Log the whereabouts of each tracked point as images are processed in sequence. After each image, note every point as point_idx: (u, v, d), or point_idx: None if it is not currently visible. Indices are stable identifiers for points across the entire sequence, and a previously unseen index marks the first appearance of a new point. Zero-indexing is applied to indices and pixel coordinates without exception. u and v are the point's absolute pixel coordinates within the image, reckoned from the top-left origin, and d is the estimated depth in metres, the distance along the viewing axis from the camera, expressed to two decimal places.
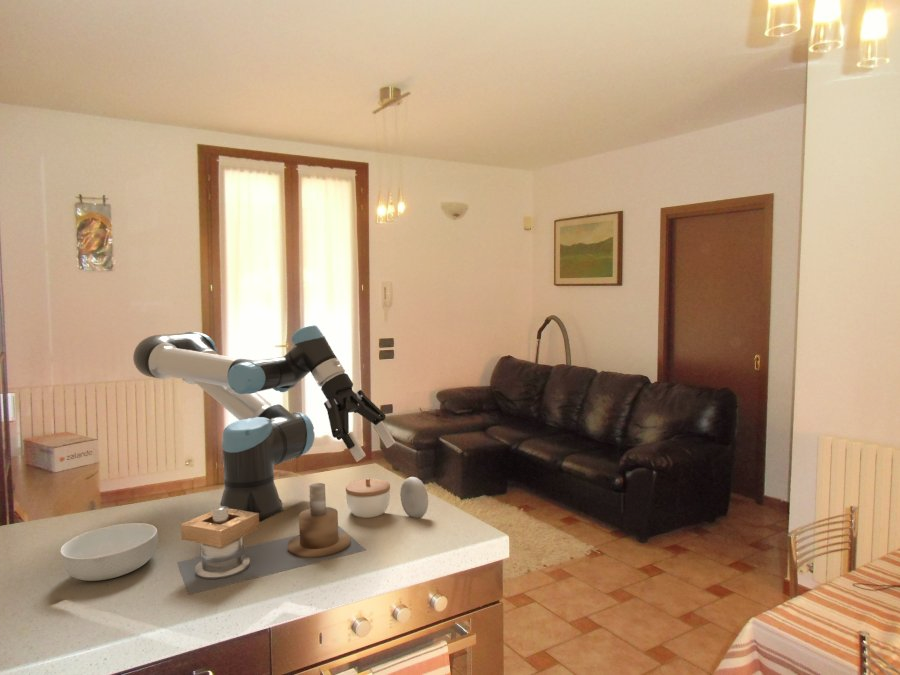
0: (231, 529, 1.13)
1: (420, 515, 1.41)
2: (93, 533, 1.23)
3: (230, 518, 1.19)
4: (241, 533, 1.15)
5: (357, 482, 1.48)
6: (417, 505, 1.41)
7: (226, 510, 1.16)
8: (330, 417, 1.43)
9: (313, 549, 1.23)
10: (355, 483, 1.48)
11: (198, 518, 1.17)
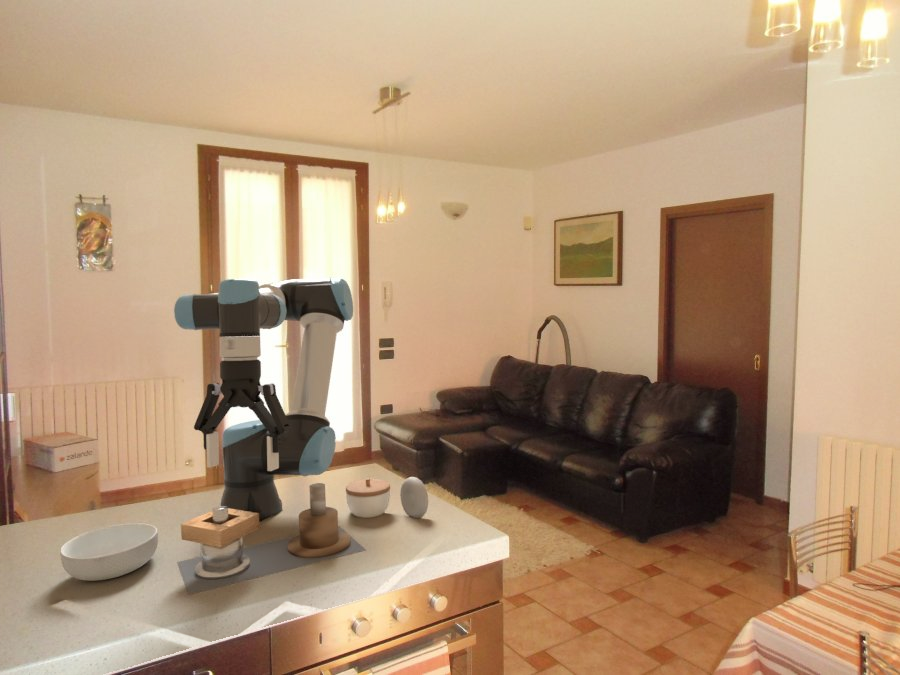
0: (231, 529, 1.13)
1: (420, 515, 1.41)
2: (93, 533, 1.23)
3: (230, 518, 1.19)
4: (241, 533, 1.15)
5: (357, 482, 1.48)
6: (417, 505, 1.41)
7: (226, 510, 1.16)
8: None
9: (313, 549, 1.23)
10: (355, 483, 1.48)
11: (198, 518, 1.17)
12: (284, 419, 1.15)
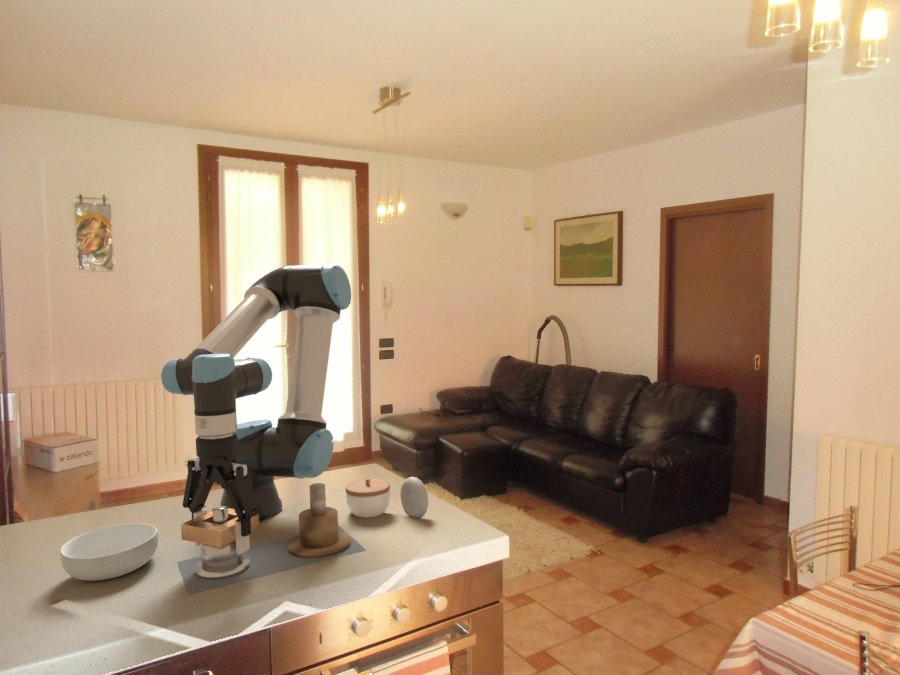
0: (231, 529, 1.13)
1: (420, 515, 1.41)
2: (93, 533, 1.23)
3: (230, 518, 1.19)
4: None
5: (357, 482, 1.48)
6: (417, 505, 1.41)
7: (226, 510, 1.16)
8: None
9: (313, 549, 1.23)
10: (355, 483, 1.48)
11: (198, 518, 1.17)
12: (253, 503, 1.13)
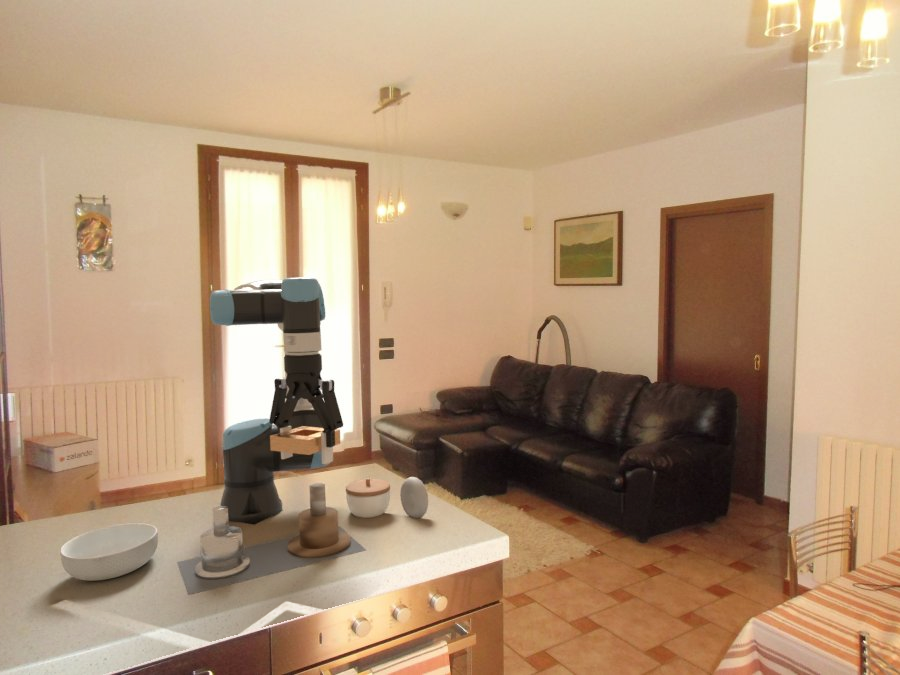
0: (318, 440, 1.20)
1: (420, 515, 1.41)
2: (93, 533, 1.23)
3: (313, 434, 1.27)
4: None
5: (357, 482, 1.48)
6: (417, 505, 1.41)
7: (226, 510, 1.16)
8: None
9: (313, 549, 1.23)
10: (355, 483, 1.48)
11: (284, 432, 1.25)
12: (338, 416, 1.21)
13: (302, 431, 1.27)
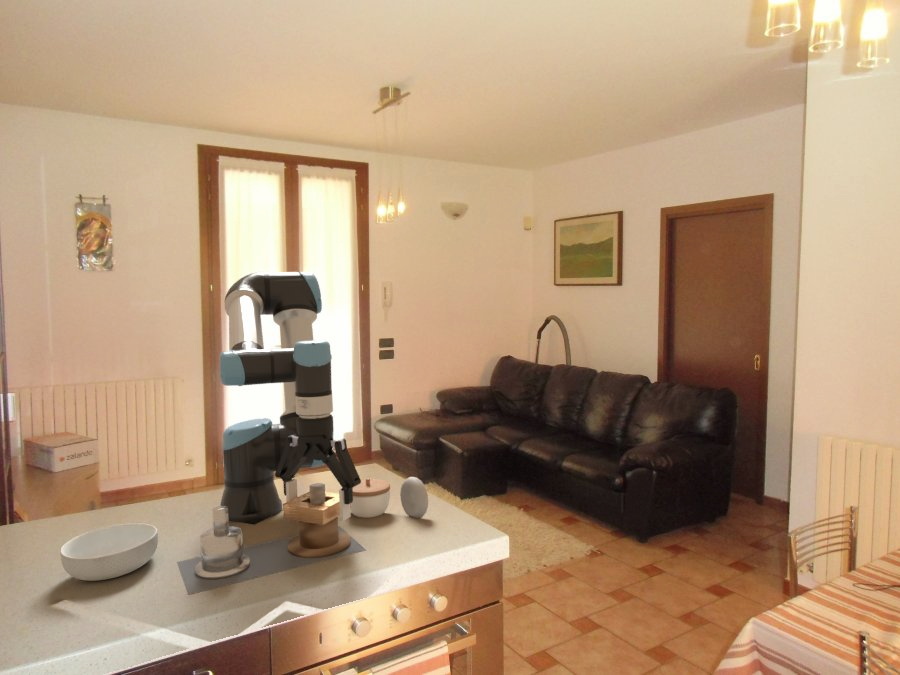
0: (331, 508, 1.23)
1: (420, 515, 1.41)
2: (93, 533, 1.23)
3: None
4: (338, 513, 1.25)
5: None
6: (417, 505, 1.41)
7: (226, 510, 1.16)
8: None
9: (313, 549, 1.23)
10: None
11: (296, 499, 1.27)
12: (354, 473, 1.23)
13: None
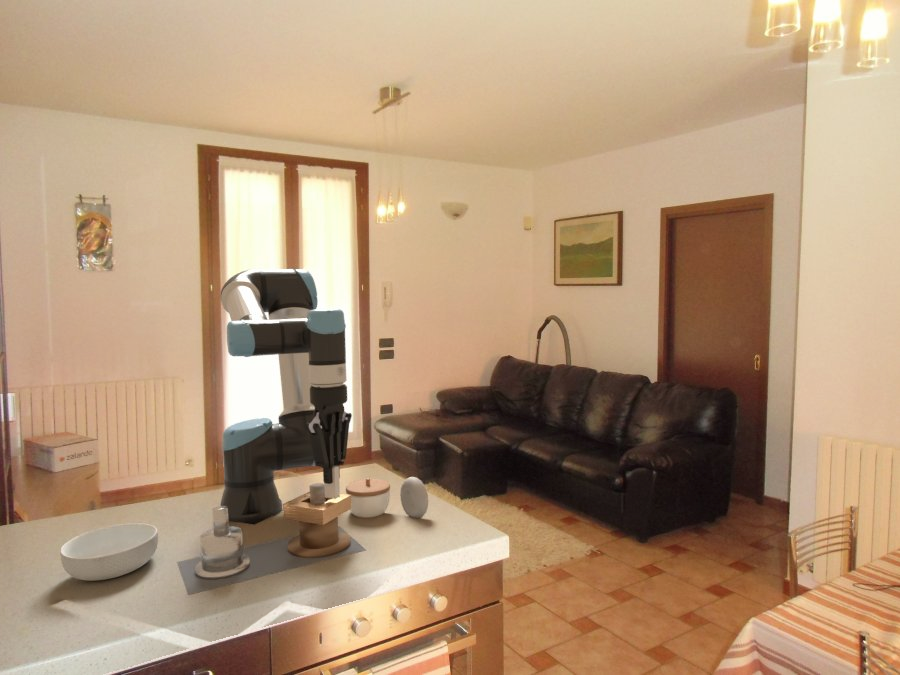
0: (331, 508, 1.23)
1: (420, 515, 1.41)
2: (93, 533, 1.23)
3: None
4: (338, 513, 1.25)
5: (357, 482, 1.48)
6: (417, 506, 1.41)
7: (226, 510, 1.16)
8: (314, 445, 1.20)
9: (313, 549, 1.23)
10: (355, 483, 1.48)
11: (296, 499, 1.27)
12: None
13: None
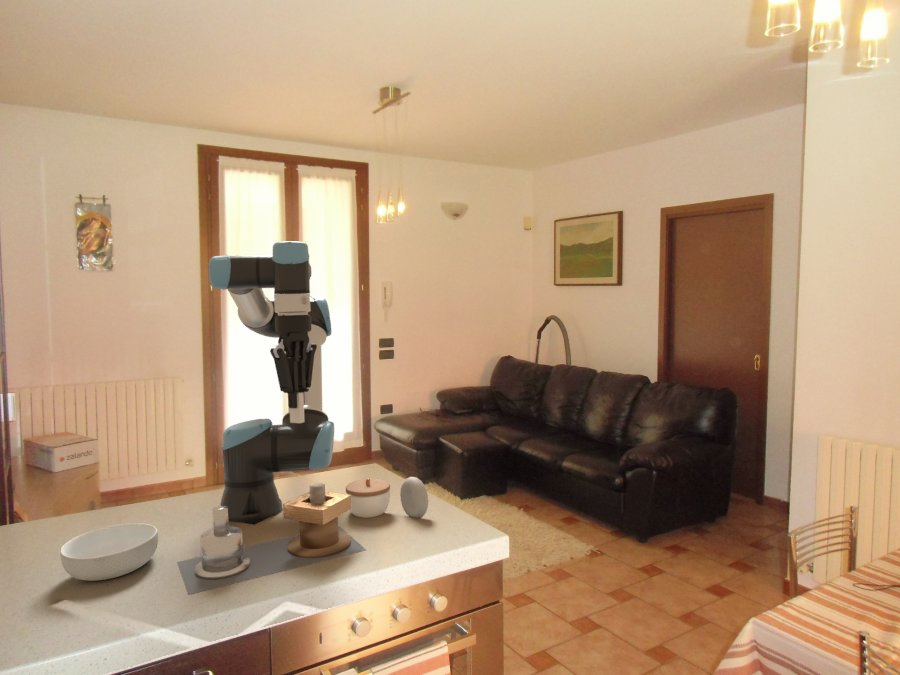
0: (331, 508, 1.23)
1: (420, 515, 1.41)
2: (93, 533, 1.23)
3: None
4: (338, 513, 1.25)
5: (357, 482, 1.48)
6: (417, 505, 1.41)
7: (226, 510, 1.16)
8: (278, 369, 1.26)
9: (313, 549, 1.23)
10: (355, 483, 1.48)
11: (296, 499, 1.27)
12: None
13: None
